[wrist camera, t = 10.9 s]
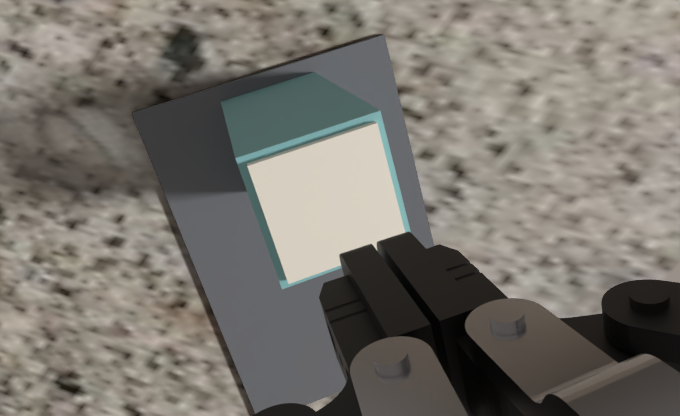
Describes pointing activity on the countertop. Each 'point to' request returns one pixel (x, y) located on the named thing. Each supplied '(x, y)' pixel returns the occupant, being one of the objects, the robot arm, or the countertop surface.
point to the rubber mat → (244, 231)
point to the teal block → (314, 173)
